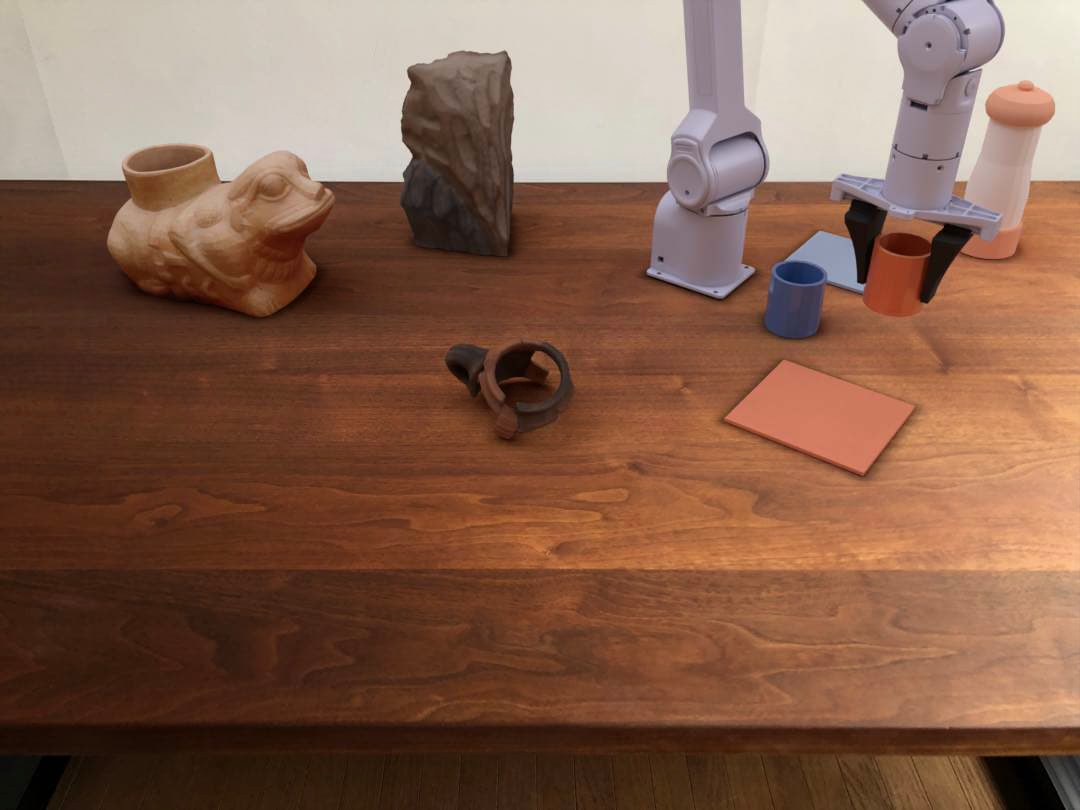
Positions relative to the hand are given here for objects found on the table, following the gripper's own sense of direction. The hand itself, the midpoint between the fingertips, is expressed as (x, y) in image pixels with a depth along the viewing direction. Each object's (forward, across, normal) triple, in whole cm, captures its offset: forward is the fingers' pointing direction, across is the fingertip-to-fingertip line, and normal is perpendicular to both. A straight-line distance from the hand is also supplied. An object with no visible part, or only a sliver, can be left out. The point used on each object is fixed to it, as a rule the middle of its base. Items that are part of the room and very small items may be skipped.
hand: (894, 288), depth 97 cm
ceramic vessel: (+8, -63, -26) cm, 69 cm away
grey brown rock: (+8, -49, -2) cm, 50 cm away
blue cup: (+8, -10, +2) cm, 13 cm away
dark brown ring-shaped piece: (+8, -24, -27) cm, 37 cm away
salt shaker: (+8, 0, +32) cm, 33 cm away
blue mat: (+8, -10, +18) cm, 22 cm away
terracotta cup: (+1, 0, 0) cm, 1 cm away
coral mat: (+8, -1, -12) cm, 14 cm away
